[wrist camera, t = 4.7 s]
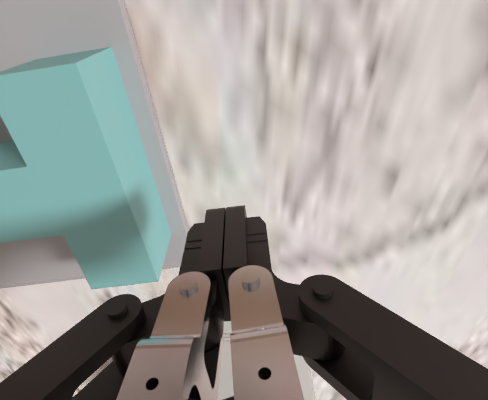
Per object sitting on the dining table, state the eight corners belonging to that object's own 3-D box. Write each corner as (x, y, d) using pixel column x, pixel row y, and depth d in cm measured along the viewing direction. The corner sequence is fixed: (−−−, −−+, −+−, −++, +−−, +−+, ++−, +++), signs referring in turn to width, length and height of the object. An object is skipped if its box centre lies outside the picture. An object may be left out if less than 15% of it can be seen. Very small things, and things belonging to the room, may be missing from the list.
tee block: (111, 46, 18) (75, 63, 14) (171, 234, 24) (158, 281, 20) (-107, 82, 18) (-198, 107, 15) (6, 255, 25) (-37, 304, 21)
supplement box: (206, 346, 32) (189, 530, 21) (208, 288, 28) (189, 477, 17) (286, 350, 32) (310, 532, 21) (299, 293, 28) (336, 480, 18)
